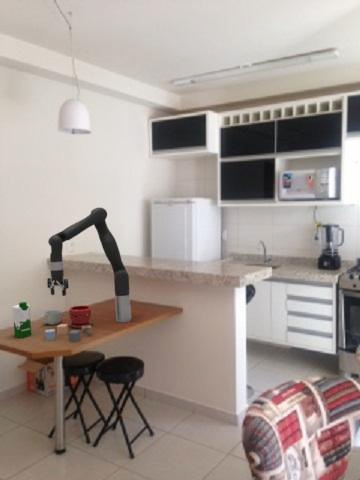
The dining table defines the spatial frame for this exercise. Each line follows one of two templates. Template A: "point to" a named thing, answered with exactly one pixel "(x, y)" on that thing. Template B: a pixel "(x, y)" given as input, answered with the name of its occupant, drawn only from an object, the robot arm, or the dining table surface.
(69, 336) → the charcoal cube
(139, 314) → the dining table surface
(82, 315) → the plant pot
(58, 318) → the teacup
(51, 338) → the slate blue cube
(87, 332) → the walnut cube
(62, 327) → the terracotta cube
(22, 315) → the milk carton
